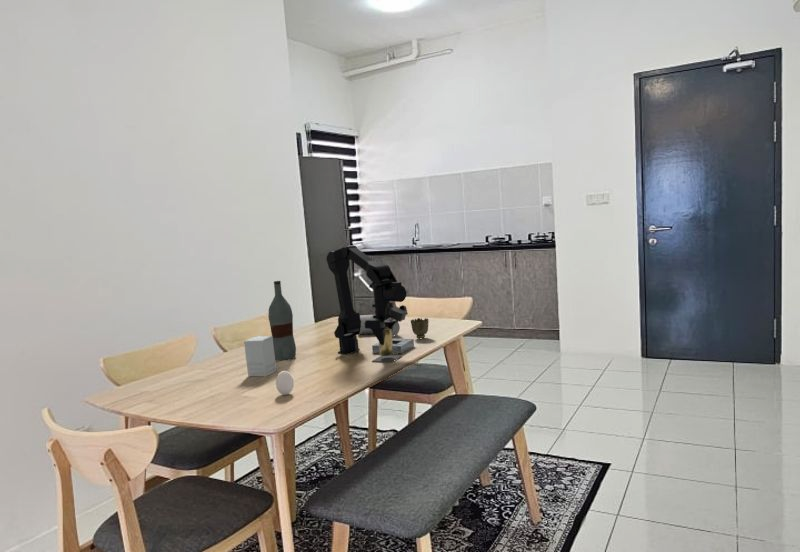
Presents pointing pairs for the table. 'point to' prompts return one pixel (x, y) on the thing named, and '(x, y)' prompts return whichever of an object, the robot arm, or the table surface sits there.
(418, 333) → the cup
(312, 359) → the table surface
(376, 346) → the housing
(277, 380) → the egg
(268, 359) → the supplement box
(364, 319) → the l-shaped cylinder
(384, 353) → the brass cylinder
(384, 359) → the mat
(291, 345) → the bottle
